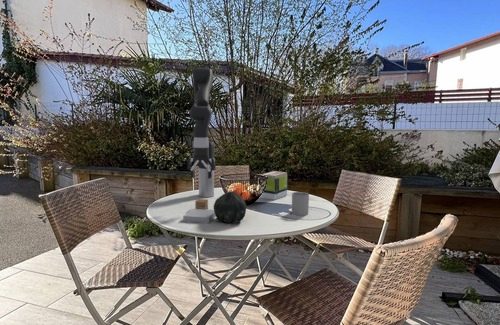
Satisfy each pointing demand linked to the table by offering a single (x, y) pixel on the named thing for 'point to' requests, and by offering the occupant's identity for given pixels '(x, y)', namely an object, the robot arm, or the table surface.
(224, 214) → the squash
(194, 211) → the stone coaster
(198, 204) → the walnut cube
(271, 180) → the tea box
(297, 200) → the cup
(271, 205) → the table surface
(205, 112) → the robot arm
